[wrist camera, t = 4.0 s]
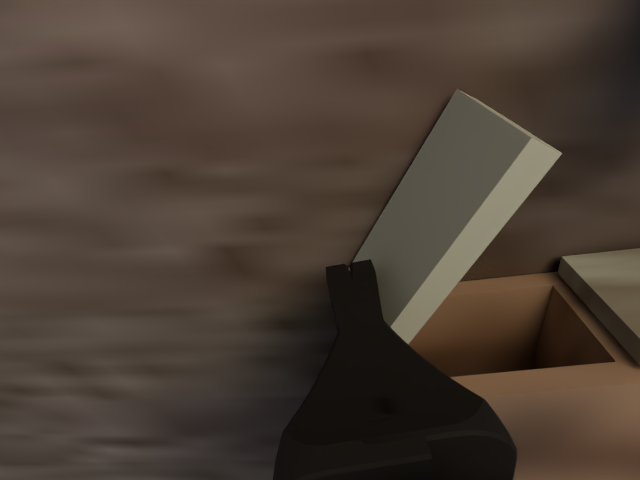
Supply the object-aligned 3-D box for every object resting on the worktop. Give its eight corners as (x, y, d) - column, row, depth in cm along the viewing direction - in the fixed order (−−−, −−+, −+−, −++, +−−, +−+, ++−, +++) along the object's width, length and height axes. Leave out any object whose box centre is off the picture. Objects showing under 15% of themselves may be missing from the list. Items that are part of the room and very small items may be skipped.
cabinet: (645, 393, 20) (740, 507, 16) (362, 418, 21) (375, 534, 17) (727, 233, 15) (905, 336, 11) (346, 275, 16) (359, 387, 11)
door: (475, 98, 12) (567, 156, 8) (352, 293, 16) (366, 402, 12) (454, 87, 12) (536, 140, 8) (335, 287, 16) (343, 396, 12)
